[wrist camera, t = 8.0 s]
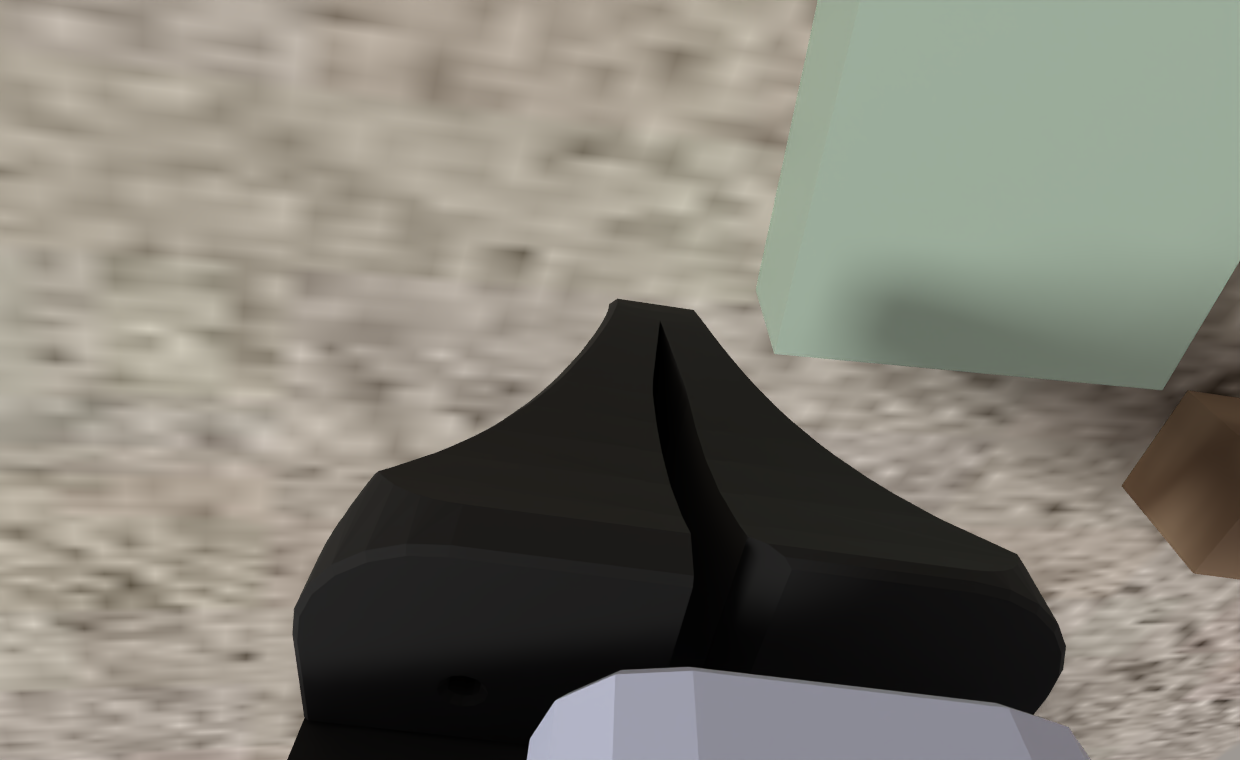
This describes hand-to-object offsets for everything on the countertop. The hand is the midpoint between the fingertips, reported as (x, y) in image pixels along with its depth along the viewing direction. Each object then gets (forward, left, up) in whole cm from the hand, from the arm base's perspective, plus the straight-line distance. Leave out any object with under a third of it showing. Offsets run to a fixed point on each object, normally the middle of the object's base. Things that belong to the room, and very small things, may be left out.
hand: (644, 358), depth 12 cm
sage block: (+3, -9, -10) cm, 13 cm away
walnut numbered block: (-6, -20, -10) cm, 23 cm away
